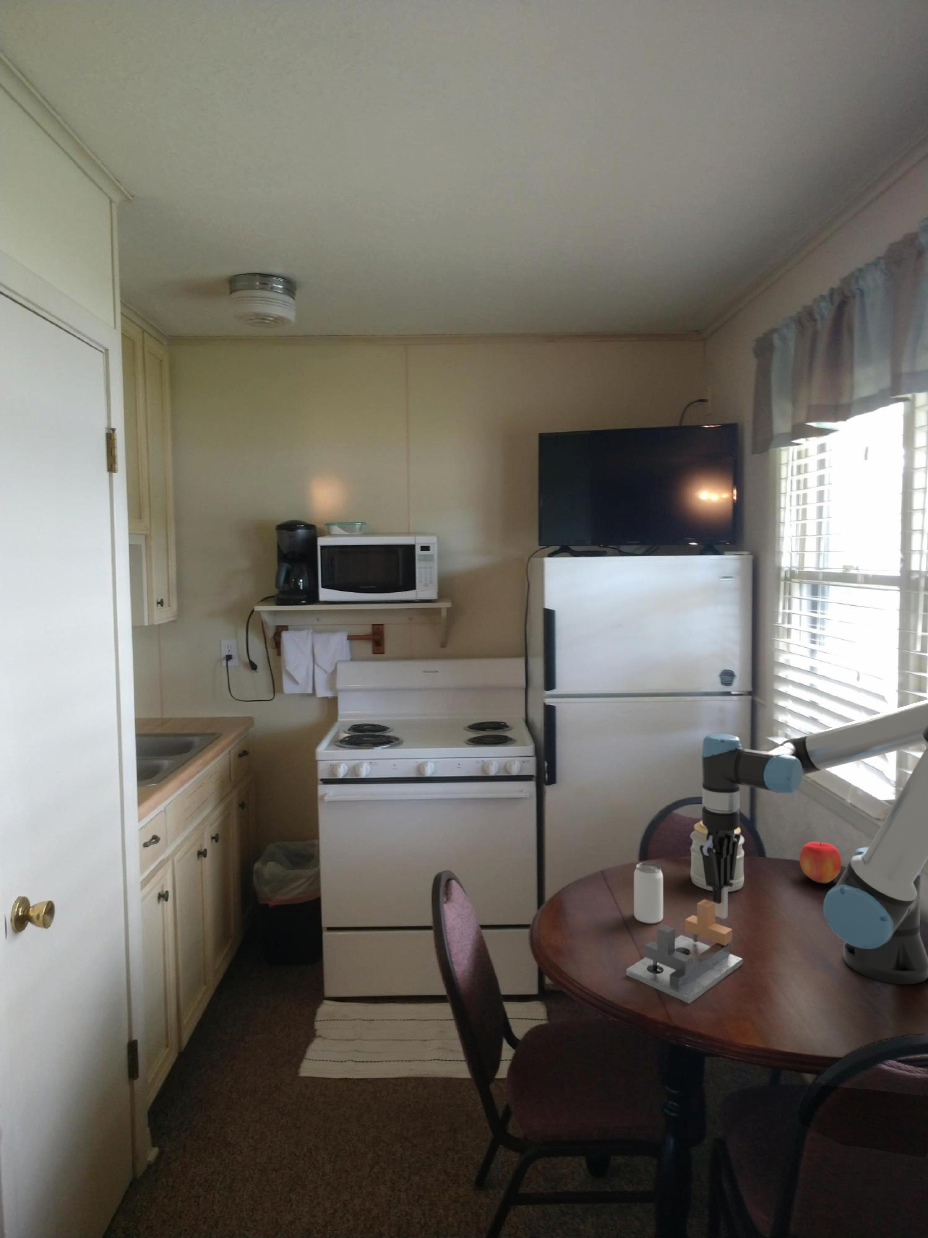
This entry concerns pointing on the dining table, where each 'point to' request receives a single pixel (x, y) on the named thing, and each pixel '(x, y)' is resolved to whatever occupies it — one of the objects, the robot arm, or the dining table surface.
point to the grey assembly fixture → (683, 965)
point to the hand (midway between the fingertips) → (719, 915)
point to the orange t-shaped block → (707, 924)
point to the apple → (820, 861)
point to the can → (648, 893)
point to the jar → (697, 861)
